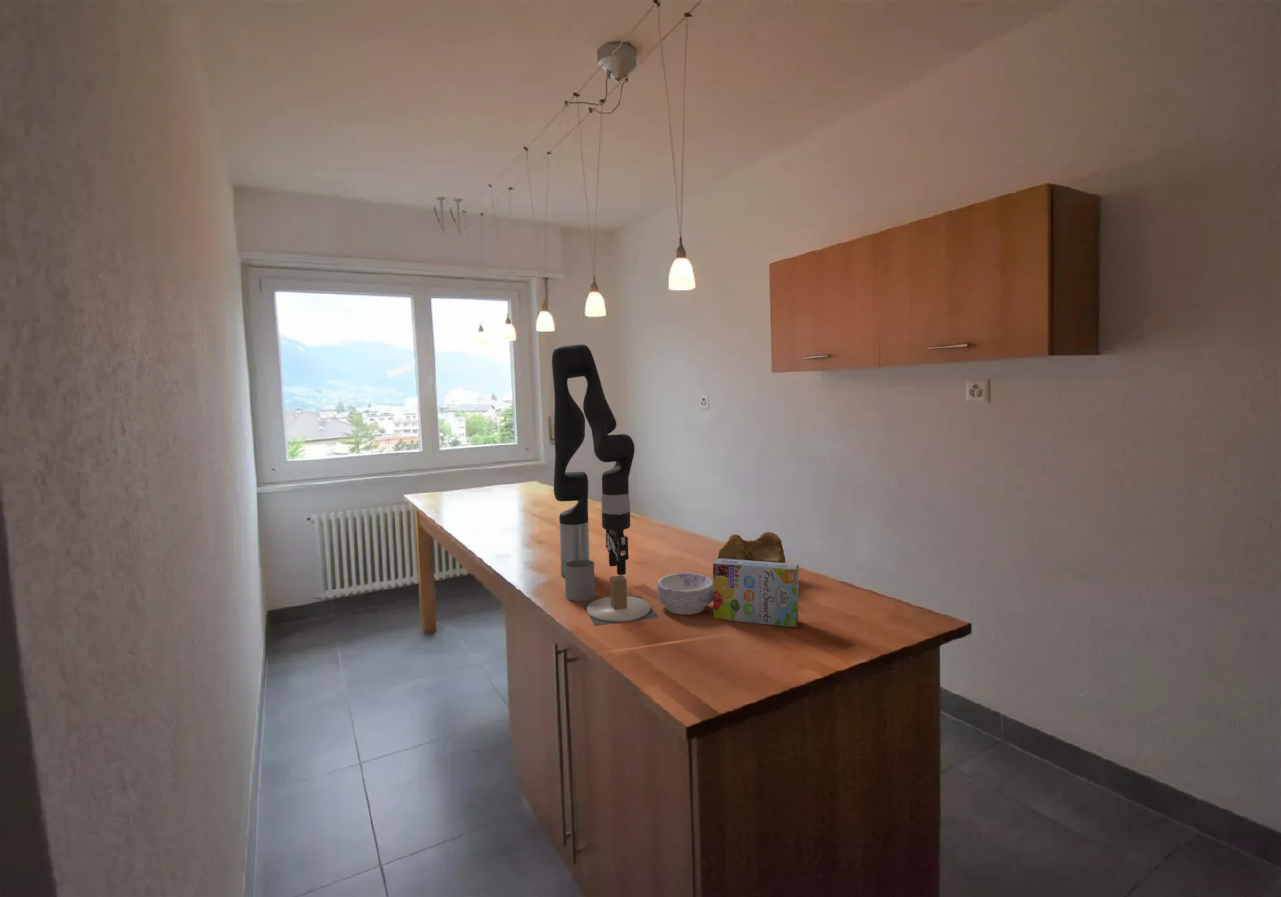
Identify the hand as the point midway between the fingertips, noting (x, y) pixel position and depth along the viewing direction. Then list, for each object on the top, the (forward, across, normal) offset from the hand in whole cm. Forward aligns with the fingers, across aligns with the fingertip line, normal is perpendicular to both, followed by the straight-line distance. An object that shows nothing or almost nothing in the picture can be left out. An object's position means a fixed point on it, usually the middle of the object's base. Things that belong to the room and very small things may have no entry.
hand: (617, 570), depth 164 cm
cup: (+12, -15, -7) cm, 20 cm away
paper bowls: (+12, +4, +18) cm, 22 cm away
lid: (+11, 0, 0) cm, 11 cm away
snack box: (+12, +17, +32) cm, 38 cm away
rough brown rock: (+12, -8, +46) cm, 48 cm away
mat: (+12, 0, 0) cm, 12 cm away
